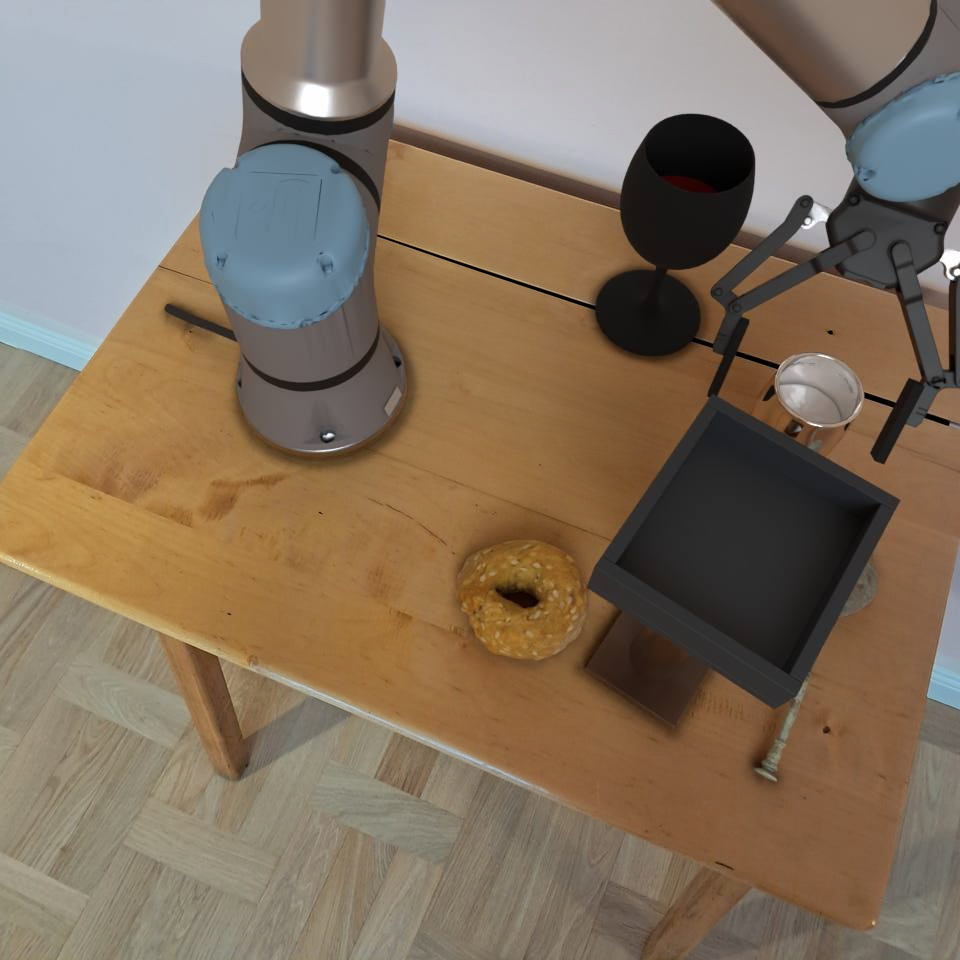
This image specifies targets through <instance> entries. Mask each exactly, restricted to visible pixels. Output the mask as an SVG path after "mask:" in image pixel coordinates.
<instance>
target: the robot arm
mask: <svg viewBox="0 0 960 960" xmlns="http://www.w3.org/2000/svg"><path fill="white" fill-rule="evenodd" d="M709 1H710V2H711V3H712V4H713V5H714V6H715V7H716V8H717V9H718V10H719V11H720V12H721V13H723V14H724V15H725V16H726V17H727V18H728V19H729V21H730V22H732V23H733V25H735V26H736V27H737V28H738V30H740V31H741V32H742V33H743V34H744V35H745V36H746V37H747V38H748V39H749V40H750V41H751V42H752V43H753V44H754V45H755V46H756V47H757V48H758V49H759V50H760V51H761V52H762V53H763V54H765V56H766V57H768V58H769V59H770V61H772V62H773V64H775V66H777V68H778V69H779V70H781V71H782V72H783V73H784V75H786V76H787V77H788V78H789V79H790V80H791V81H792V82H793V83H794V84H795V85H796V86H797V87H798V88H799V89H800V90H801V91H802V92H803V93H804V94H805V95H806V96H807V97H808V98H809V99H810V100H811V101H813V103H814V104H815V105H816V106H817V107H818V108H819V109H820V110H821V111H822V112H823V113H824V114H825V115H826V116H827V117H828V118H829V120H831V121H832V122H833V123H834V124H835V125H836V126H837V127H838V129H839V130H840V131H841V134H842V135H843V137H844V140H845V144H844V150H845V155H846V160H847V161H848V162H849V163H850V166H851V168H852V172H853V177H852V179H851V181H850V183H849V185H848V188H847V189H846V192H845V194H844V195H843V198H842V200H841V202H840V203H839V204H838V205H837V206H836V207H835V208H833V209H832V208H830V207H828V206H826V205H824V204H821V203H819V202H817V201H815V200H814V198H813V197H812V196H811V195H809V194H803V195H801V196H799V197H798V198H797V199H796V200H795V202H794V203H793V205H792V206H791V209H790V211H788V214H787V216H786V217H785V219H784V221H783V222H782V223H781V224H780V225H779V226H778V227H776V228H775V229H774V230H773V231H772V232H771V233H769V235H767V236H766V237H765V238H764V239H763V240H762V241H761V242H759V244H758V245H756V246H755V247H754V248H753V249H752V250H751V251H750V252H748V253H747V254H746V255H745V256H744V257H743V258H742V259H741V260H740V261H739V262H738V263H736V264H735V265H734V266H733V267H732V268H731V269H730V270H729V271H728V272H726V273H725V275H723V276H722V277H721V278H720V279H719V280H717V282H715V283H714V284H713V285H712V286H711V288H710V292H709V293H710V296H711V298H712V299H714V301H716V302H717V303H718V304H719V305H721V306H722V307H723V309H724V317H723V319H722V321H721V324H720V325H719V329H718V330H717V333H716V336H715V337H714V340H713V343H712V352H713V353H715V354H717V355H720V356H722V358H721V360H720V362H719V365H718V367H717V370H716V372H715V374H714V376H713V379H712V381H711V383H710V386H709V387H708V390H707V393H706V397H707V398H708V399H709V398H710V396H711V395H712V394H714V395H716V396H718V397H719V393H720V391H721V389H722V387H723V384H724V382H725V380H726V378H727V375H728V373H729V370H730V369H731V366H732V364H733V362H734V359H735V357H736V355H737V353H738V350H739V348H740V346H741V344H742V341H743V339H744V337H745V334H746V332H747V330H748V328H749V325H750V323H751V322H750V321H751V320H750V318H747V317H744V316H743V315H744V314H745V313H748V312H749V311H751V310H753V309H755V308H757V307H759V306H761V305H762V304H764V303H766V302H768V301H770V300H771V299H773V298H775V297H778V296H779V295H781V294H783V293H785V292H786V291H789V290H791V289H793V288H794V287H796V286H798V285H800V284H801V283H803V282H805V281H807V280H809V279H811V278H813V277H814V276H817V275H819V274H820V273H823V272H825V271H827V270H829V269H831V268H832V267H834V269H835V270H836V272H837V273H839V274H840V276H842V277H844V278H845V277H846V278H848V279H851V280H857V281H864V282H865V283H866V284H868V285H869V286H871V287H874V288H876V289H879V290H883V291H885V290H893V289H894V291H895V295H896V297H897V300H898V302H899V305H900V309H901V312H902V316H903V318H904V323H905V327H906V329H907V333H908V335H909V340H910V343H911V346H912V350H913V353H914V357H915V361H916V363H917V367H918V371H919V374H920V377H921V378H920V380H916V379H915V378H914V379H913V378H911V377H908V378H907V380H906V382H905V384H904V386H903V388H902V390H901V392H900V393H899V396H898V398H897V399H896V401H895V404H894V405H893V407H892V409H891V411H890V413H889V415H888V417H887V419H886V421H885V423H884V424H883V427H882V428H881V431H880V432H879V434H878V436H877V438H876V440H875V442H874V443H873V446H872V448H871V450H870V452H869V454H870V456H871V458H872V459H873V461H874V462H876V463H878V464H881V465H885V464H886V462H887V460H888V458H889V457H890V455H891V452H892V450H893V448H894V447H895V445H896V443H897V441H898V439H899V437H900V436H901V434H902V432H903V430H904V428H905V426H906V425H908V426H909V427H912V428H915V429H917V428H918V427H919V426H920V425H921V424H922V423H923V421H924V420H925V417H926V416H927V414H928V412H929V410H930V408H931V407H932V404H933V403H934V400H935V399H936V397H937V395H938V394H939V393H940V392H941V391H942V390H945V389H960V250H957V249H953V248H947V247H945V237H946V233H947V231H948V230H949V228H950V225H951V224H952V221H953V219H954V218H955V215H956V213H957V211H958V209H959V207H960V0H709ZM386 2H387V0H259V11H260V12H259V14H260V17H259V18H260V19H258V20H257V21H256V22H255V23H254V24H253V25H252V26H250V28H249V29H248V30H247V32H246V33H245V35H244V37H243V38H242V42H241V45H240V51H239V53H240V54H239V55H240V56H239V57H240V59H239V60H240V79H241V96H242V97H241V98H242V126H241V136H240V139H239V140H240V142H239V145H238V149H237V154H236V158H235V163H234V166H233V167H232V168H230V167H227V166H225V167H223V168H221V170H220V171H219V172H218V173H217V174H216V175H215V177H214V178H213V179H212V181H211V182H210V184H209V185H208V188H207V189H206V191H205V193H204V196H203V199H202V201H201V205H200V210H199V217H198V232H199V240H200V245H201V250H202V252H203V260H204V266H205V269H206V270H207V273H208V274H207V275H208V277H209V279H210V280H211V283H212V285H213V287H214V289H215V291H216V292H217V293H218V296H219V299H220V301H221V304H222V306H223V309H224V311H225V314H226V317H227V320H228V322H229V324H230V327H231V328H232V329H231V328H227V327H225V326H223V325H220V324H218V323H215V322H214V321H210V320H208V319H204V318H203V317H200V316H197V315H195V314H192V313H190V312H188V311H185V310H184V309H181V308H179V307H177V306H175V305H173V304H171V303H167V304H165V306H164V309H163V310H164V312H165V313H167V314H169V315H171V316H173V317H176V318H177V319H179V320H181V321H184V322H186V323H188V324H191V325H193V326H196V327H198V328H201V329H203V330H206V331H209V332H211V333H213V334H216V335H219V336H221V337H223V338H226V339H228V340H231V341H233V342H235V343H237V344H238V347H239V349H240V353H239V363H238V366H237V371H236V378H235V379H236V380H235V389H236V398H237V401H238V404H239V406H240V407H239V408H240V410H241V412H242V414H243V416H244V419H245V421H246V423H247V425H248V426H249V428H250V429H251V430H252V432H253V433H254V434H255V435H256V437H257V438H259V439H260V441H262V442H263V443H264V444H266V445H267V446H268V447H269V448H271V449H273V450H275V451H277V452H279V453H282V454H283V455H286V456H288V457H292V458H295V459H300V460H306V461H329V460H331V461H332V460H336V459H341V458H345V457H348V456H352V455H355V454H356V453H359V452H361V451H363V450H365V449H367V448H369V447H370V446H372V445H374V444H375V443H376V442H378V441H379V440H380V439H381V438H382V437H384V436H385V435H386V434H387V433H388V432H389V431H390V429H392V427H393V426H394V424H395V423H396V421H397V420H398V419H399V416H400V414H401V413H402V410H403V409H404V406H405V402H406V398H407V393H408V392H407V390H408V379H407V368H406V362H405V358H404V355H403V353H402V350H401V349H400V346H399V345H398V343H397V342H396V340H395V339H394V337H393V336H392V334H391V333H390V332H389V330H387V328H386V327H385V325H384V323H382V321H381V320H380V319H379V310H378V303H377V302H378V301H377V296H376V288H375V259H376V258H375V257H376V249H377V240H378V232H379V226H380V225H379V223H380V214H381V207H382V200H383V199H382V198H383V191H384V182H385V174H386V167H387V158H388V150H389V142H390V139H391V135H392V130H393V127H394V119H395V100H396V90H397V83H398V63H397V60H396V57H395V54H394V52H393V49H392V48H391V46H390V45H389V43H388V42H387V41H386V40H385V38H384V37H383V31H384V29H383V28H384V22H385V21H384V19H385V12H386V4H387V3H386ZM817 223H824V224H825V225H824V226H825V231H826V232H825V233H826V236H827V240H828V247H826V248H824V249H822V250H821V251H819V252H817V253H815V254H814V255H812V256H810V257H809V258H807V259H805V260H803V261H802V262H800V263H797V264H796V265H794V266H791V267H790V268H789V269H787V270H785V271H783V272H781V273H780V274H778V275H775V276H774V277H771V278H770V279H768V280H766V281H765V282H763V283H760V284H758V285H757V286H755V287H754V288H752V289H750V290H748V291H746V292H744V293H742V294H740V295H739V296H738V295H737V294H736V293H735V292H734V291H733V290H734V289H735V288H737V287H738V286H739V285H740V284H741V283H742V282H743V281H744V280H745V279H747V278H748V277H749V276H750V275H751V274H752V273H753V272H755V271H756V270H757V269H758V268H759V267H760V266H761V265H762V264H763V263H765V262H766V261H767V260H768V259H769V258H770V257H771V256H772V255H774V253H776V252H777V251H778V250H779V249H780V248H781V247H782V246H784V245H785V244H786V243H788V242H789V240H790V239H791V238H793V237H794V235H796V234H797V233H798V231H799V230H800V229H802V230H810V229H812V228H813V227H814V226H815V225H816V224H817ZM938 263H940V264H941V265H942V267H943V270H942V271H943V272H942V273H943V277H944V278H946V279H947V280H949V285H948V368H946V369H945V368H943V365H942V362H941V359H940V355H939V351H938V347H937V344H936V342H935V338H934V335H933V334H934V333H933V331H932V326H931V324H930V320H929V317H928V314H927V310H926V305H925V303H924V302H925V301H924V299H923V298H924V297H923V292H922V288H921V285H920V281H919V277H918V275H920V274H922V273H923V272H925V271H927V270H928V269H930V268H931V267H933V266H935V265H936V264H938Z"/></svg>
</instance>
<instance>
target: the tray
mask: <svg viewBox="0 0 960 960" xmlns="http://www.w3.org/2000/svg"><path fill="white" fill-rule="evenodd" d="M750 414H751V413H750ZM750 414H749V413H748V412H746V411H744V410H743V409H741V408H739V407H737V406H735V405H734V404H732V403H730V402H728V401H727V400H725V399H723V398H721V397H719V395H718V396H716V395H714V394H712V395H711V396H710V398H709V397H708V399H707V401H706V402H705V404H704V405H703V407H702V408H701V410H700V411H699V412H698V413H697V416H696V417H695V419H694V420H693V422H692V423H691V424H690V426H689V428H688V429H687V430H686V432H685V433H684V434H683V436H682V437H681V439H680V440H679V442H678V444H677V445H676V447H675V448H674V449H673V451H672V452H671V453H670V455H669V456H668V458H667V460H666V461H665V462H664V463H663V466H662V467H661V468H660V470H659V471H658V472H657V474H656V476H655V477H654V479H652V482H651V483H650V484H649V486H648V487H647V489H646V490H645V491H644V493H643V495H642V496H641V497H640V499H639V500H638V502H637V503H636V505H635V506H634V508H633V509H632V511H631V512H630V513H629V515H628V517H627V518H626V520H625V521H624V523H623V524H622V525H621V527H620V528H619V530H618V531H617V532H616V534H615V535H614V537H613V538H612V540H611V542H610V543H609V545H608V546H607V547H606V549H605V551H604V552H603V553H602V555H601V556H600V558H599V559H598V561H596V563H595V564H594V567H593V569H592V572H591V574H590V577H589V579H588V582H587V583H586V585H587V589H588V591H591V592H592V593H594V594H596V595H598V596H599V597H600V598H602V599H603V600H605V601H606V602H608V603H610V604H611V605H612V606H614V607H615V608H617V609H619V610H620V611H621V612H622V611H623V612H625V613H626V614H628V615H629V616H631V617H633V618H634V619H636V620H637V621H639V622H640V623H642V624H643V625H645V626H646V627H648V628H649V629H651V630H653V631H654V632H656V633H657V634H659V635H660V636H662V637H663V638H665V639H666V640H668V641H669V642H671V643H673V644H674V645H676V646H677V647H679V648H680V649H682V650H683V651H685V652H686V653H688V654H690V655H691V656H693V657H694V658H696V659H697V660H699V661H700V662H702V663H703V664H705V665H706V666H708V667H710V668H709V669H711V670H712V671H714V672H716V673H717V674H719V675H721V676H722V677H723V678H725V679H726V680H728V681H730V682H731V683H733V685H736V686H737V687H739V688H740V689H742V690H743V691H745V692H746V693H748V694H750V696H753V697H754V698H755V699H758V700H759V701H760V702H762V703H763V704H765V705H767V706H768V707H769V708H771V709H772V710H777V709H778V708H780V707H782V706H784V705H785V704H786V703H788V702H791V700H792V699H793V698H794V697H796V696H797V695H798V693H799V691H800V689H801V687H802V685H803V683H804V681H805V680H806V678H807V676H808V674H809V672H810V670H811V668H812V666H813V664H814V663H815V664H816V662H817V659H818V657H819V655H820V653H821V651H822V649H823V647H824V646H825V644H826V643H827V640H828V638H829V636H830V634H831V633H832V631H833V628H834V627H835V625H836V623H837V621H838V619H839V618H840V617H839V615H840V614H841V612H842V610H843V608H844V606H845V604H846V602H847V600H848V598H849V597H850V595H851V593H852V591H853V589H854V587H855V585H856V583H857V582H858V580H859V578H860V576H861V574H862V572H863V570H864V568H865V566H866V565H867V563H868V561H869V559H870V560H871V558H872V555H873V553H874V552H875V549H876V547H877V545H878V544H879V542H880V540H881V538H882V536H883V535H884V532H885V531H886V529H887V527H888V525H889V523H890V521H891V519H892V517H893V515H894V513H895V511H896V510H897V508H898V507H899V504H900V503H901V499H900V498H898V497H896V495H893V494H891V493H889V492H888V491H886V490H884V489H882V488H880V487H879V486H877V485H875V484H874V483H872V482H870V481H868V480H867V479H865V478H863V477H861V476H859V475H857V474H856V473H854V472H852V471H850V470H848V469H847V468H845V467H844V466H842V465H840V464H838V463H836V462H835V461H833V460H831V459H830V458H828V457H827V456H826V457H824V456H822V455H820V454H819V453H817V452H815V451H813V450H812V449H810V448H808V447H806V446H804V445H803V444H801V443H799V442H797V441H796V440H794V439H792V438H790V437H789V436H787V435H785V434H783V433H781V432H780V431H778V430H776V429H774V428H773V427H771V426H769V425H767V424H765V423H764V422H762V421H760V420H758V419H757V418H755V417H753V416H751V415H750ZM815 661H816V662H815Z"/></svg>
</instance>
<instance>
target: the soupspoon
mask: <svg viewBox="0 0 960 960" xmlns="http://www.w3.org/2000/svg"><path fill="white" fill-rule="evenodd" d="M878 586H879V574H878V570H877V568H876V565H875V564H874V562H873V561H872V560H871V558H870V559H869V561H868V563H867V565H866V566H865V568H864V570H863V572H862V574H861V576H860V578H859V580H858V582H857V583H856V585H855V587H854V589H853V591H852V593H851V595H850V597H849V598H848V600H847V602H846V604H845V606H844V608H843V610H842V612H841V614H840V615H839V617H838V618H842V617H846V616H851V615H853V614H855V613H857V612H858V611H860V610H862V609H863V608H865V607H866V606H868V605H869V604H870V603H871V602H872V601H873V599H874V598H875V596H876V594H877V592H878ZM816 662H817V660H816V661H815V663H814V664H813V666H812V668H811V670H810V672H809V674H808V676H807V678H806V680H805V681H804V683H803V685H802V687H801V689H800V691H799V693H798V695H797V696H796V697H794V698H793V699H791V700H790V703H789V705H788V709H787V711H786V714H785V715H784V716H785V717H784V719H783V722H782V725H781V728H780V731H779V733H778V734H777V736H776V737H774V738H773V741H774V744H773V745H772V746H771V747H770V748H769V750H768V751H767V754H766V758H765V759H763V760H762V761H761V764H762V767H754V768H753V770H754V771H755V772H756V773H758V774H759V775H761V776H762V777H764V778H766V779H769V780H771V781H772V782H778V780H777V778H776V776H775V775H774V773H776V772H777V771H778V764H779V763H780V761H781V757H782V755H783V751H782V750H783V749H784V748H785V747H787V739H788V737H789V735H790V733H791V730H792V727H793V724H794V722H795V720H796V718H797V715H798V712H799V710H800V707H801V705H802V702H803V699H804V696H805V693H806V691H807V687H808V684H809V682H810V679H811V676H812V673H813V670H814V667H815V665H816Z"/></svg>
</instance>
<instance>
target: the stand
mask: <svg viewBox="0 0 960 960" xmlns="http://www.w3.org/2000/svg"><path fill="white" fill-rule="evenodd" d="M710 669H711V668H710V667H708V666H706V665H705V664H703V663H702V662H700V661H699V660H697V659H696V658H694V657H693V656H691V655H690V654H688V653H686V652H685V651H683V650H682V649H680V648H679V647H677V646H676V645H674V644H673V643H671V642H669V641H668V640H666V639H665V638H663V637H662V636H660V635H659V634H657V633H656V632H654V631H653V630H651V629H649V628H648V627H646V626H645V625H643V624H642V623H640V622H639V621H637V620H636V619H634V618H633V617H631V616H629V615H628V614H626V613H625V612H623V611H622V610H621V612H620V613H619V615H618V617H617V619H616V620H615V621H614V623H613V624H612V626H611V627H610V629H609V631H608V632H607V633H606V635H605V637H604V639H603V640H602V642H601V643H600V644H599V646H598V647H597V649H596V650H595V652H594V654H593V655H592V657H591V658H590V660H589V661H588V662H587V664H586V666H585V668H584V669H583V672H584V673H585V674H587V675H588V676H590V677H591V678H593V679H594V680H596V681H598V682H599V683H600V684H601V685H603V686H605V687H606V688H607V689H609V690H611V691H612V692H614V693H615V694H616V695H618V696H619V697H620V698H622V699H624V700H625V701H627V702H628V703H629V704H631V705H633V706H634V707H636V708H637V709H638V710H640V711H642V712H643V713H645V714H646V715H648V716H649V717H650V718H652V719H653V720H655V721H656V722H658V723H659V724H660V725H662V726H664V727H665V728H667V729H668V730H669V731H672V730H674V729H675V728H676V726H677V724H678V722H679V721H680V719H681V718H682V716H683V714H684V712H685V710H686V709H687V707H688V706H689V704H690V702H691V700H692V699H693V697H694V695H695V694H696V692H697V690H698V688H699V687H700V685H701V683H702V682H703V680H704V678H705V676H706V675H707V673H708V671H709V670H710Z"/></svg>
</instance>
